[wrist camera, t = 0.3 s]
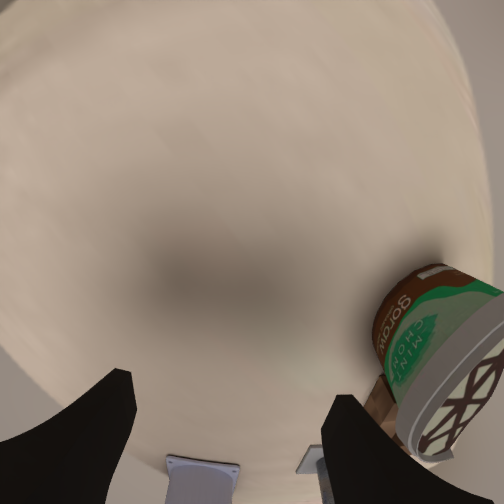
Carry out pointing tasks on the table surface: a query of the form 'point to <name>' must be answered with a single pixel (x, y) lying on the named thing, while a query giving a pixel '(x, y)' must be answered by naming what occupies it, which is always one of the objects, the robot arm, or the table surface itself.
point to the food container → (439, 354)
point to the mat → (310, 460)
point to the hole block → (384, 409)
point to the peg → (324, 482)
